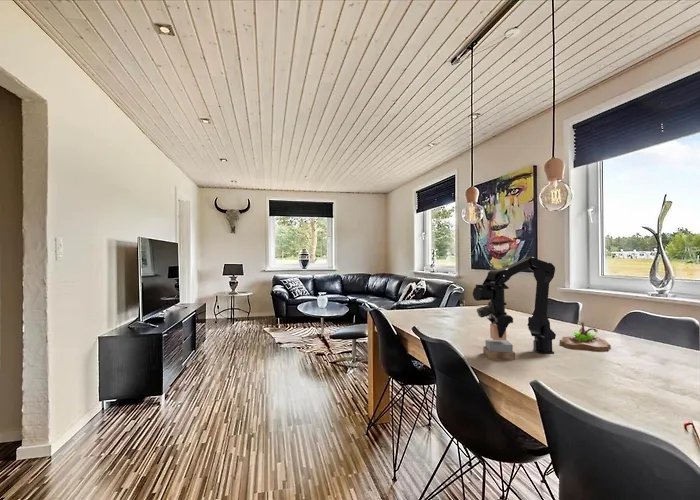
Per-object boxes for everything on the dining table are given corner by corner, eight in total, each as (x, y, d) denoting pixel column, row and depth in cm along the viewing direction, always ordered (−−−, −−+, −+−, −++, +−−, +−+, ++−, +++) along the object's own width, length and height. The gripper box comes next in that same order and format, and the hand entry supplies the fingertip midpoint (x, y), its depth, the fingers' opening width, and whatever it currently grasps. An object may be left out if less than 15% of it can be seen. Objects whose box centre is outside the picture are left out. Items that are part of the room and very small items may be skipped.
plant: (608, 344, 171) (607, 320, 171) (612, 353, 154) (611, 327, 154) (560, 339, 181) (559, 317, 181) (559, 348, 164) (558, 324, 165)
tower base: (506, 354, 156) (506, 346, 156) (515, 361, 146) (515, 352, 146) (483, 354, 157) (483, 346, 157) (490, 360, 147) (490, 352, 147)
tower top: (507, 347, 155) (507, 340, 155) (512, 352, 146) (512, 345, 146) (485, 346, 157) (485, 339, 157) (489, 351, 148) (489, 344, 148)
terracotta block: (502, 337, 154) (501, 323, 154) (506, 340, 149) (506, 325, 149) (490, 337, 154) (490, 323, 154) (494, 340, 149) (493, 325, 149)
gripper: (472, 297, 162) (473, 331, 161) (484, 302, 143) (485, 341, 143) (497, 297, 161) (498, 331, 160) (513, 302, 142) (514, 341, 142)
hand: (498, 336), depth 151 cm, fingers closed on terracotta block, 5 cm apart
